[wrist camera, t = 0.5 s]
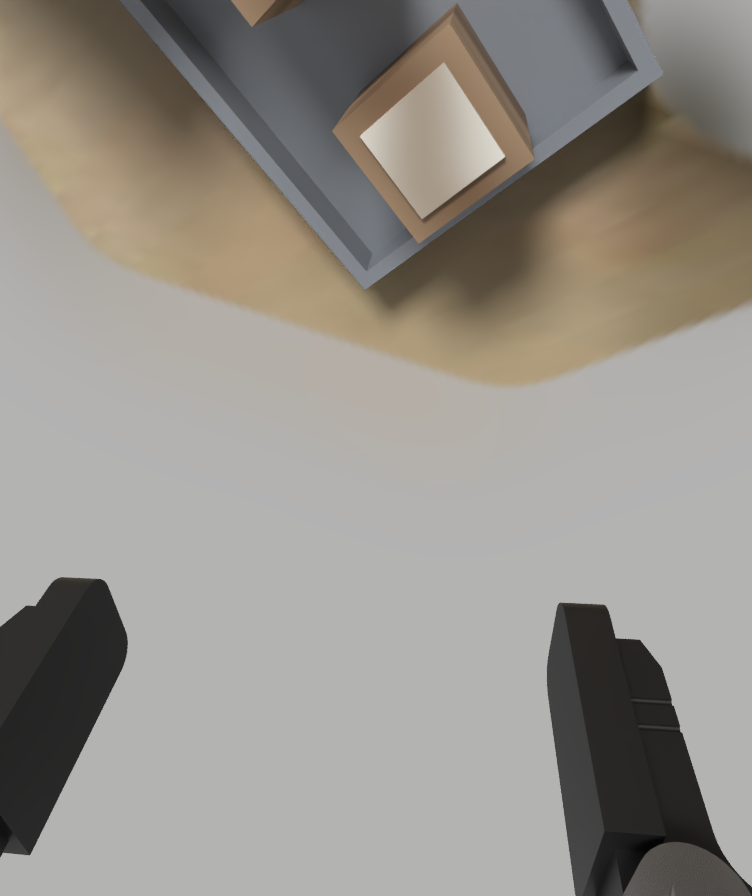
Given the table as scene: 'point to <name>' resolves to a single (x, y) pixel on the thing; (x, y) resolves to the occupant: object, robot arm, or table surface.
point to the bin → (359, 62)
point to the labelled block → (437, 127)
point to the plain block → (263, 9)
